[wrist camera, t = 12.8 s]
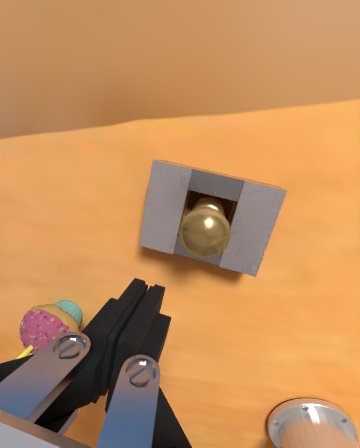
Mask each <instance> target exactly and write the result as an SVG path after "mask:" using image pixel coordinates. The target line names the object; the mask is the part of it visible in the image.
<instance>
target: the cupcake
mask: <svg viewBox="0 0 360 448" xmlns="http://www.w3.org/2000/svg"><path fill="white" fill-rule="evenodd" d="M81 319H82V312H81V310H80V308H79V307H78V306H77V305H76V304H75V303H73V302H71V301H68V300H63V301H60V302H58V303H56V304H53V305H49V304H46V305H39V306H35V307H33V308H32V309H31V310H30V311H28V312H27V313H26V315H25V316H24V318H23V320H22V322H21V323H20V326H21V329H20V332H19V334H20V336H21V337H20V339H21V340H22V342H23V344H24V345H23V346H25V349H26V350H25V351H24V352H23V353H22V354H20V355H19V356H18V357H17V358H16V359H19V358H22V357H26V356H27V355H28V354H29V353H31V354H36V353H38V352H39V351H40V350H41V349H42V348H44V347H45V346H46V345H47V344H49V343H50V342H51V341H52V340H54V339H55V338H56V337H58V336H60V335H61V334H64V333H67V332H80V331H79V329H78V327H79V324H80V322H81Z"/></svg>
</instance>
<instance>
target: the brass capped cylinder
mask: <svg viewBox="0 0 360 448" xmlns="http://www.w3.org/2000/svg"><path fill="white" fill-rule="evenodd" d="M230 237H231V231H230V226H229V223H228V221H227V219H226V218H225V214H224V208H223V205H222V204H221V202H220V201H219V200H217V199H216V198H213V197H203V198H201V199H199V200H198V201H197V202H196V203H195V205H194V206H193V208H192V210H191V212H189V213H188V214H187V215H186V216H185V218H184V219H183V221H182V223H181V225H180V228H179V238H180V242H181V244H182V246H183V247H184V248H185V250H186V251H187V252H189V253H190V254H192V255H194V256H196V257H199V258H212V257H215V256H217V255H219V254H221V253H222V252H223V251H224V250H225V249H226V247H227V246H228V244H229V242H230Z"/></svg>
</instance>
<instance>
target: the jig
mask: <svg viewBox="0 0 360 448" xmlns="http://www.w3.org/2000/svg"><path fill="white" fill-rule="evenodd" d="M190 191H195V192H200V193H204V194H208V195H212V196H216V197H221V198H225V199H229V200H233V205H232V208H231V212H230V215H229V219H228V223H229V226H230V231H231V237H230V242H229V244H228V246H227V247H226V249H225V250H224V251H223V252H222V253H221V254H219V255H217V256H215V257H212V258H199V257H196V256H194V255H192V254H190V253H189V252H187V251H186V250H185V248H184V247H183V246H182V244H181V242H180V238H179V228H180V225H181V223H182V221H183V219H184V217H185V213H186V209H187V204H188V200H189V195H190ZM286 192H287V190H285V189H282V188H280V187H277V186H274V185H270V184H266V183H261V182H257V181H252V180H248V179H244V178H239V177H235V176H230V175H226V174H222V173H217V172H213V171H208V170H204V169H200V168H195V167H191V166H187V165H182V164H178V163H173V162H169V161H165V160H153V163H152V169H151V175H150V181H149V187H148V193H147V199H146V205H145V211H144V217H143V223H142V229H141V235H140V241H139V246H143V247H147V248H150V249H154V250H158V251H162V252H165V253H169V254H177V255H181V256H185V257H188V258H192V259H196V260H200V261H203V262H207V263H211V264H215V265H218V266H219V267H222V268H225V269H229V270H233V271H236V272H240V273H244V274H248V275H251V276H255V277H256V275H257V272H258V269H259V266H260V264H261V261H262V258H263V255H264V253H265V250H266V247H267V244H268V242H269V239H270V236H271V233H272V231H273V228H274V225H275V222H276V220H277V217H278V214H279V211H280V209H281V206H282V203H283V200H284V197H285V195H286Z"/></svg>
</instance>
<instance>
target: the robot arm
mask: <svg viewBox="0 0 360 448" xmlns="http://www.w3.org/2000/svg"><path fill="white" fill-rule="evenodd" d="M147 289H148V285H146V284H145V281H143V280H140V279H136V278H135V279H134V280H133V281H132V282H131V284H130V285H129V286H128V287H127V289H126V290H125V291H124V292H123V294H122V295H121V296H120V298H119V299H118V300H117V299H114V298H110V299H109V300H108V302H107V303H106V304H105V305H104V306H103V307H102V309H101V310H100V311H99V312H98V313H97V314H96V316H95V317H94V318H93V319H92V320H91V321H90V323H89V324H88V325H87V326H86V327H85V328H84V330H83V331H82V332H67V333H64V334H61V335H60V336H58V337H56V338H55V339H54V340H52V341H51V342H50V343H49V344H47V345H46V346H45V347H44V348H42V349H41V350H40V351H39V352H38V353H36V354H33V355H29V356H26V357H22V358H19V359H15V360H11V361H8V362H4V363H1V364H0V448H91V447H89V446H87V445H84V444H82V443H79V442H77V441H75V440H72V439H70V438H67V437H65V436H63V435H64V433H65V432H66V431H67V429H68V428H69V427H70V425H71V424H72V423H73V421H74V420H75V419H76V417H77V416H78V414H79V412H80V411H81V407H83V406H85V405H88V404H90V402H92V403H95V404H96V402H97V401H98V399H99V397H100V395H103V396H105V395H106V393H107V391H108V389H109V391H108V397H107V402H106V407H105V411H106V418H105V421H104V424H103V427H102V430H101V433H100V436H99V439H98V443H97V446H96V448H192V447H191V445H190V443H189V441H188V439H187V437H186V435H185V434H184V432H183V430H182V428H181V426H180V424H179V422H178V420H177V418H176V417H175V415H174V413H173V411H172V409H171V407H170V405H169V403H168V401H167V399H166V398H165V396H164V394H163V392H162V390H161V388H160V386H159V383H160V368H159V365H158V361H159V358H160V355H161V352H162V349H163V346H164V343H165V339H166V336H167V332H168V329H169V325H170V321H171V317H169V316H166V315H163V314H160V309H161V304H162V300H163V296H164V292H165V287H162V286H159V285H156V284H155V286H154V287H153V286H150V288H149V289H148V291H147ZM268 431H269V436H270V438H271V440H272V442H273V444H274V445H275V446H276V447H277V448H360V447H359V445H358V443H357V439H358V434H357V430H356V428H355V425H354V423H353V421H352V420H351V418H350V417H349V415H348V414H347V413H346V412H345V411H344V410H342V409H341V408H339V407H338V406H336V405H334V404H332V403H330V402H327V401H323V400H319V399H313V398H300V399H294V400H290V401H287V402H285V403H282V404H281V405H279V406H278V407H276V408H275V409H274V410H273V411H272V413H271V414H270V416H269V419H268Z"/></svg>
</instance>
